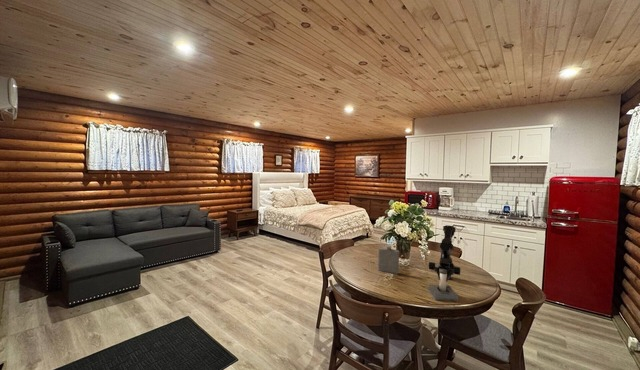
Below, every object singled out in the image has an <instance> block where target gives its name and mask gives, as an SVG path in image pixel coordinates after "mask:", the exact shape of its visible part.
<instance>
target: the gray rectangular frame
mask: <svg viewBox="0 0 640 370" xmlns="http://www.w3.org/2000/svg"><path fill="white" fill-rule="evenodd" d="M428 291H429V293H430V295H431V296H432V297H433V299H434V300H435V301H446V302H447V301H448V302H449V301H450V302H458V298H459V297H458V296H459V295H458V294H457V292H456V291H455V290H454V289H453V287H452V286H451V285H446V291H441V290H439V284H428Z"/></svg>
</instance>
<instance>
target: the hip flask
mask: <svg viewBox="0 0 640 370" xmlns="http://www.w3.org/2000/svg"><path fill="white" fill-rule="evenodd" d="M377 251H378V252H377V253H378V254H377V255H378V256H377V271H378V272H384V273H390V274H395V275H398V274H399V269H400V268H399V267H400V266H399V264H400V251H399V249H398V250H396V249H392V245H391V246H390V245H387V246H386V248H382V247H379V248H378V250H377Z"/></svg>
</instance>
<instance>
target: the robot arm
mask: <svg viewBox="0 0 640 370" xmlns="http://www.w3.org/2000/svg"><path fill="white" fill-rule="evenodd" d="M456 229H457V228H456V227H455V226H454V225H443V226H442V231H443V234H444V236H443V237H444V238H442V240H441V242H440V243H439V249H440V257H439V262H438V263H439V264H436V263H435V262H432V261H429V262H428V264H427V265H428V269H429V270H431V271H434V272H436V275H437V276H438V277H437V278H438V280H439V281H440V269H446V270H447V280H446V282H447V283H448V281H449V280H453V278H452V276H453V275H459V276H461V267H459V266H455V264H454V262H453V261H454V260H453V259H452V257H451V255H452V250H453V249H454V248H455V247H454V244H453V239H452V238H454V236H455V233H456Z"/></svg>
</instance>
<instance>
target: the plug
mask: <svg viewBox="0 0 640 370" xmlns="http://www.w3.org/2000/svg"><path fill="white" fill-rule="evenodd" d="M439 270H440V280H439V284H438V285H439V290H441V291H446V286H447V283H448V281H447V282H446V280H447V270H446V269H439Z"/></svg>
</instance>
